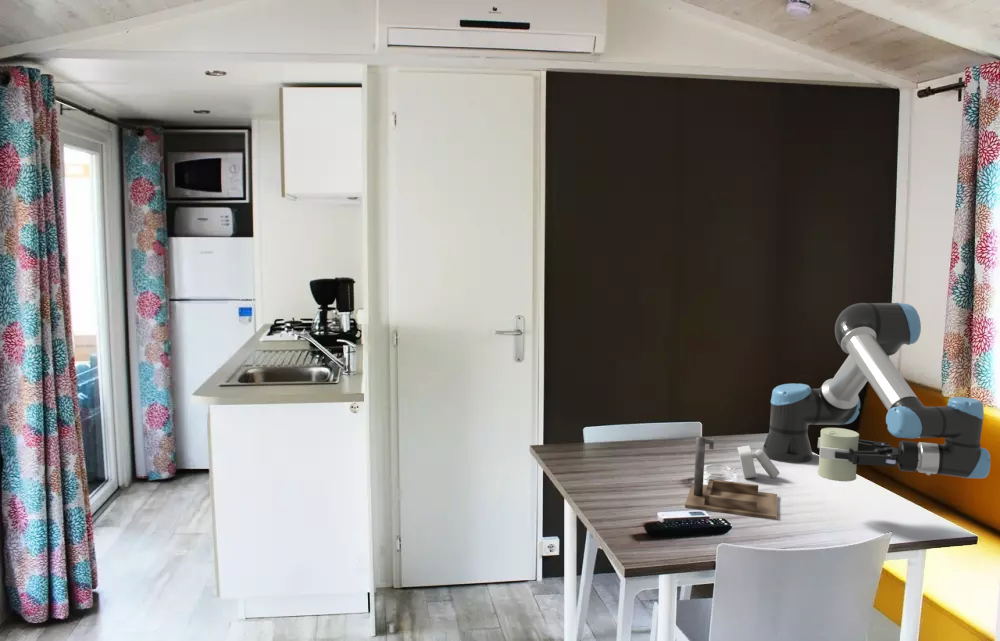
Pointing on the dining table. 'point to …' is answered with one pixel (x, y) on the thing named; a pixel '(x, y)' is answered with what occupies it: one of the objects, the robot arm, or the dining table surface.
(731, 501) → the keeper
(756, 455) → the wall hook
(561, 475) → the dining table surface
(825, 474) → the can
